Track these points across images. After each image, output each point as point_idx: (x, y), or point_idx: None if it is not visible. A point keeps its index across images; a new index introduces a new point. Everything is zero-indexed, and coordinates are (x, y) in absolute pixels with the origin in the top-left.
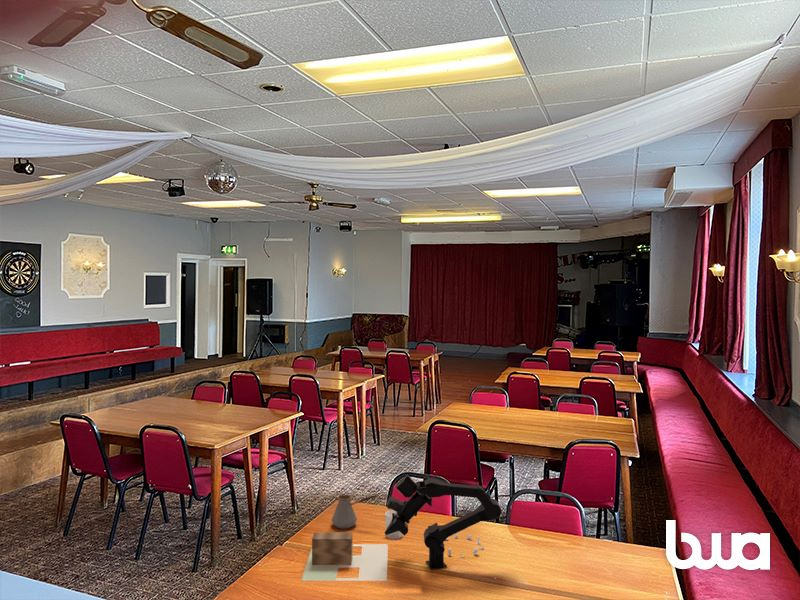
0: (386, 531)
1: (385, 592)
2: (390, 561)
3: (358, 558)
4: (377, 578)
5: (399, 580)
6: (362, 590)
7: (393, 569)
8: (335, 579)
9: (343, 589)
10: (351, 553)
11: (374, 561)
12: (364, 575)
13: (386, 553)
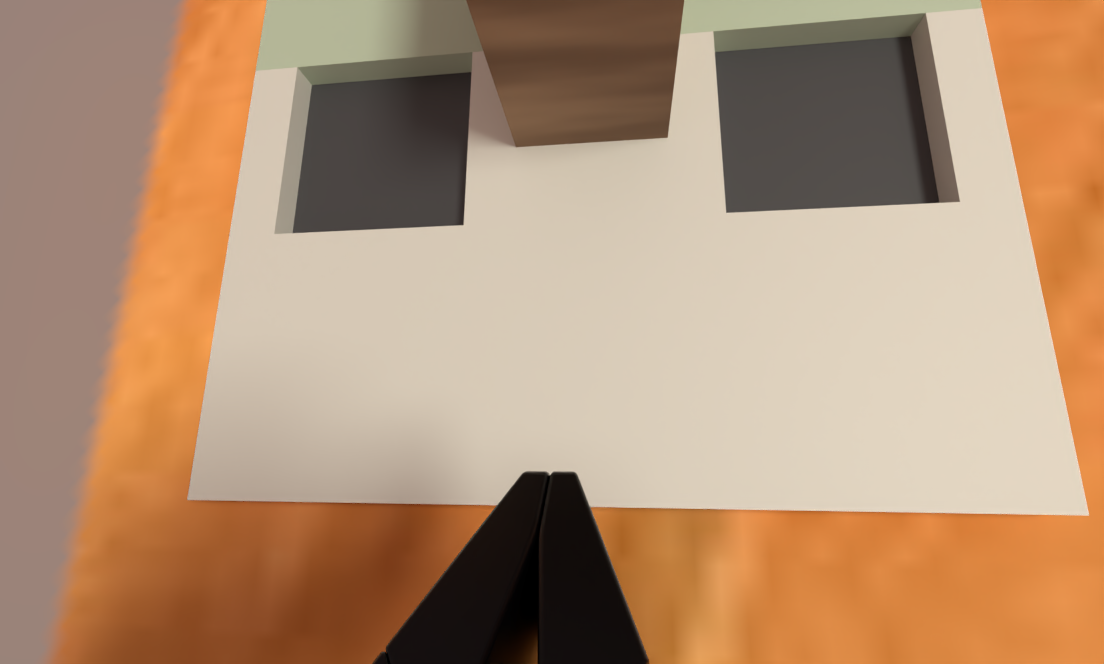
0: (489, 525)
1: (100, 486)
2: (682, 541)
3: (651, 195)
4: (241, 406)
5: (276, 629)
6: (165, 294)
7: None
8: (273, 65)
9: (204, 155)
10: (532, 81)
11: (584, 360)
12: (310, 283)
13: (797, 495)
